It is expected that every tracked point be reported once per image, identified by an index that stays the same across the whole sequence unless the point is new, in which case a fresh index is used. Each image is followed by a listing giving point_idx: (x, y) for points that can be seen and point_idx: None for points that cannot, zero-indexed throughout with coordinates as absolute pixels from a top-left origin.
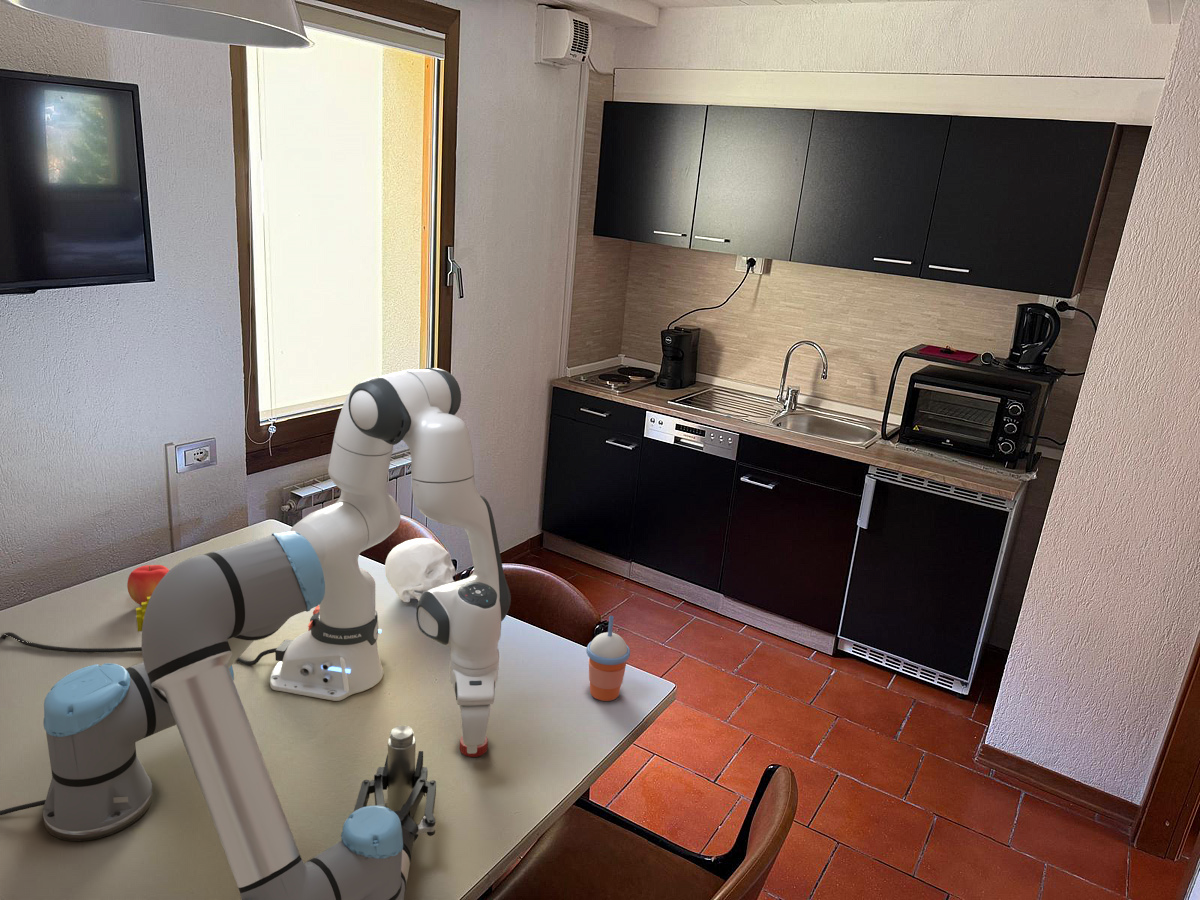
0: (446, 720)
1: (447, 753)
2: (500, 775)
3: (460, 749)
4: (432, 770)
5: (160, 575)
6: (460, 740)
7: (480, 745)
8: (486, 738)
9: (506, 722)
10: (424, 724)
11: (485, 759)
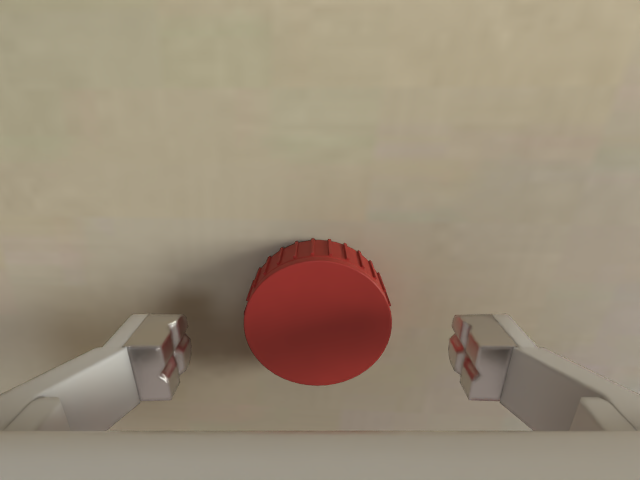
0: (581, 173)
1: (287, 176)
2: None
3: (295, 246)
4: (138, 91)
5: None
6: (317, 262)
7: (266, 356)
8: (323, 382)
9: (482, 423)
10: (586, 33)
11: (238, 342)
